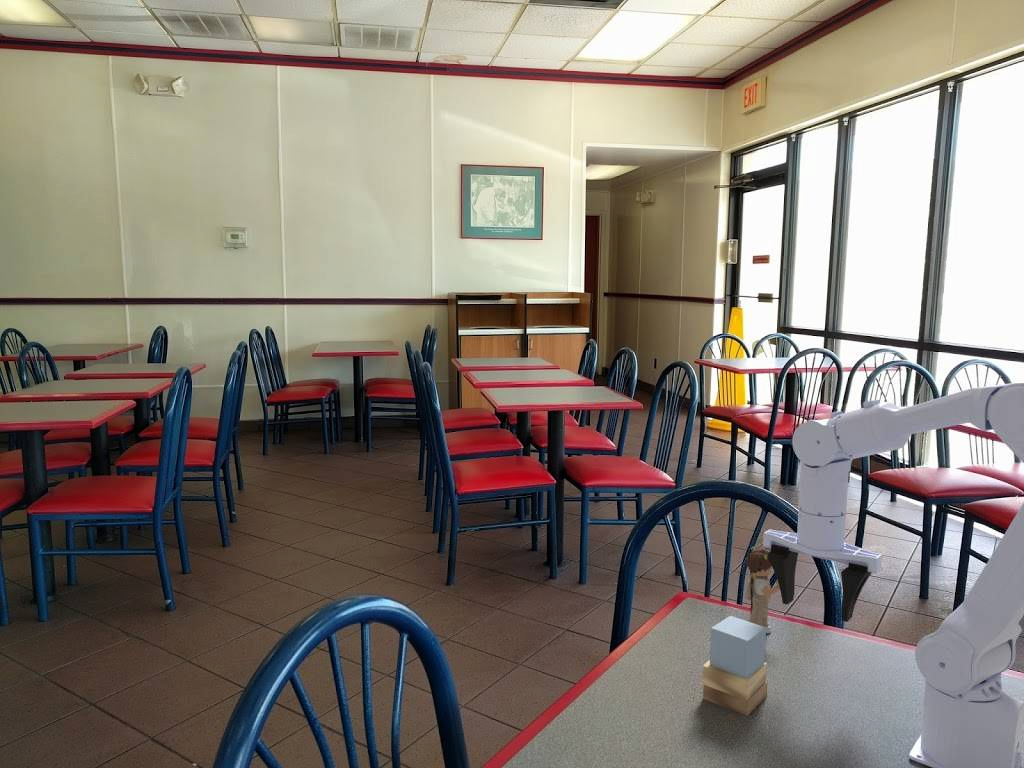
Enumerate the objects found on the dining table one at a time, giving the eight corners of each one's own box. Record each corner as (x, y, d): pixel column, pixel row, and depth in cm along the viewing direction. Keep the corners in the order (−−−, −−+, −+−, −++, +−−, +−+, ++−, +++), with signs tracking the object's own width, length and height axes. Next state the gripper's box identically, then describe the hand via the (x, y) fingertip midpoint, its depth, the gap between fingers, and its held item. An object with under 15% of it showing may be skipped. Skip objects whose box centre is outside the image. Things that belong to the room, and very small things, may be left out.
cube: (764, 664, 96) (766, 627, 95) (746, 678, 92) (747, 640, 92) (728, 651, 99) (730, 615, 99) (709, 664, 96) (711, 627, 95)
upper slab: (765, 681, 96) (766, 662, 96) (747, 700, 92) (748, 681, 92) (722, 666, 100) (722, 648, 100) (702, 684, 96) (702, 665, 95)
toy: (782, 639, 112) (787, 544, 110) (745, 636, 113) (749, 542, 111) (776, 621, 118) (781, 531, 116) (740, 618, 119) (744, 529, 117)
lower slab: (766, 699, 97) (767, 681, 96) (747, 719, 92) (748, 700, 92) (723, 683, 101) (724, 666, 100) (702, 702, 96) (703, 683, 96)
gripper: (891, 514, 94) (884, 616, 96) (780, 493, 104) (775, 586, 106) (874, 528, 89) (867, 635, 91) (758, 504, 99) (753, 601, 101)
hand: (816, 610), depth 98 cm, fingers open, 7 cm apart
